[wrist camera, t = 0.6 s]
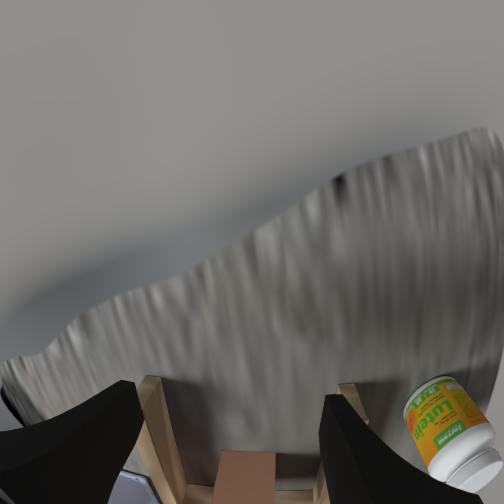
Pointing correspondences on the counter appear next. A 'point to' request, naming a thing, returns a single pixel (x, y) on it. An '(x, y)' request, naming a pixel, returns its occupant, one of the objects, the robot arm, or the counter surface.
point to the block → (245, 478)
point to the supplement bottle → (452, 435)
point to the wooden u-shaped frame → (169, 463)
